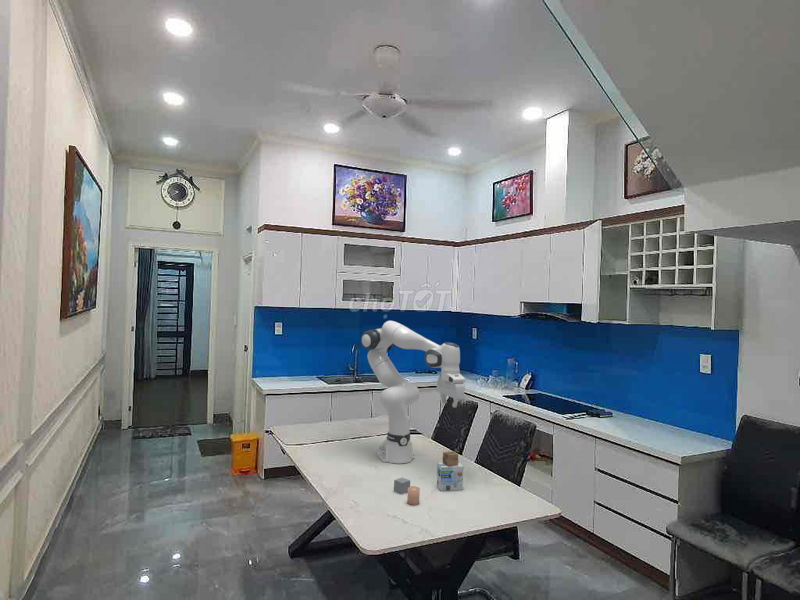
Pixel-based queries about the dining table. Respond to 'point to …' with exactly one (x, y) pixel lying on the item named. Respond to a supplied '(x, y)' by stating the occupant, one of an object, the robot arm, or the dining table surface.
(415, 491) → the cylinder
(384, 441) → the robot arm
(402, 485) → the slate cube
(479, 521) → the dining table surface
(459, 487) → the light bulb box
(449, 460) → the walnut cube
